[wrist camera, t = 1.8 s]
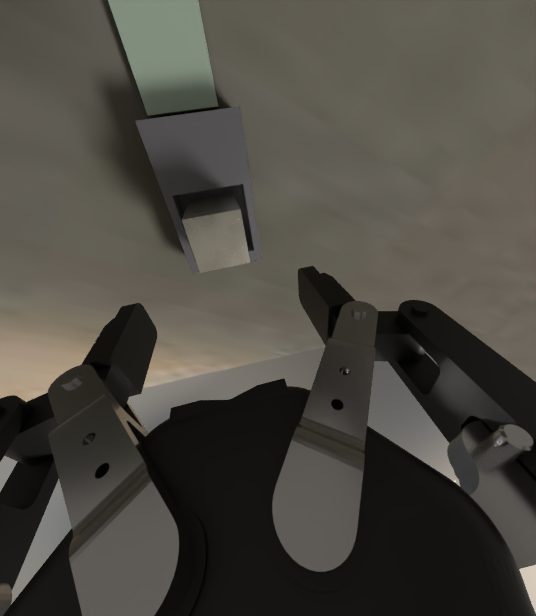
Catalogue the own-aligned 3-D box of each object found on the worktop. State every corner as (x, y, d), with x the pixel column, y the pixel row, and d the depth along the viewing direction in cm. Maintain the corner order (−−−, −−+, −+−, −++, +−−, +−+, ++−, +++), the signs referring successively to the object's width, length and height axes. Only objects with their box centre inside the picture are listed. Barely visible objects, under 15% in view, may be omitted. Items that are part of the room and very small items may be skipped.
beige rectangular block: (189, 199, 23) (181, 219, 16) (232, 192, 23) (240, 209, 17) (202, 241, 25) (200, 272, 19) (240, 234, 26) (250, 262, 19)
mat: (110, 2, 15) (107, -3, 15) (196, -5, 16) (196, -10, 15) (149, 116, 19) (147, 115, 18) (218, 107, 19) (218, 106, 19)
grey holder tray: (145, 124, 19) (134, 120, 16) (235, 112, 20) (240, 106, 17) (194, 260, 27) (192, 273, 24) (257, 248, 28) (262, 259, 25)
